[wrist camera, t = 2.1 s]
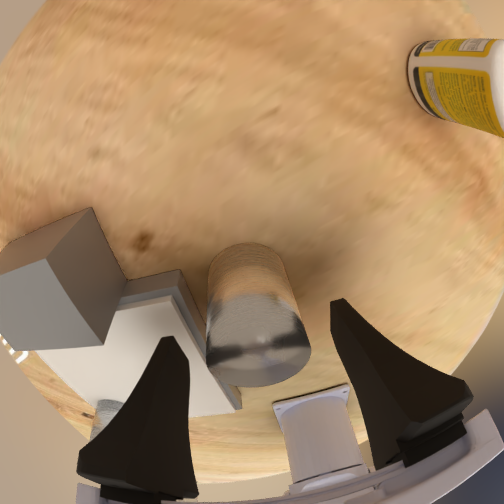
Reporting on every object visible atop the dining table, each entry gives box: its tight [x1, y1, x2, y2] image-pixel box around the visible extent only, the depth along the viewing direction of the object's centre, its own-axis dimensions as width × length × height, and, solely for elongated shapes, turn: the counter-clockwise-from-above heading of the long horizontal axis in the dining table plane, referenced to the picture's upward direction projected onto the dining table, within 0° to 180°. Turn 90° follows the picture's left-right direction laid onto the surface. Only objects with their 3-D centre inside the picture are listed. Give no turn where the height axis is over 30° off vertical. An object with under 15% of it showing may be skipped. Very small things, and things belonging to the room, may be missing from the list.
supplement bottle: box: [408, 39, 504, 138], centre depth 7 cm, size 5×5×8 cm
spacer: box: [206, 243, 311, 387], centre depth 13 cm, size 4×4×6 cm
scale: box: [0, 207, 242, 417], centre depth 16 cm, size 20×15×5 cm
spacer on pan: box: [90, 399, 124, 441], centre depth 18 cm, size 4×4×6 cm
